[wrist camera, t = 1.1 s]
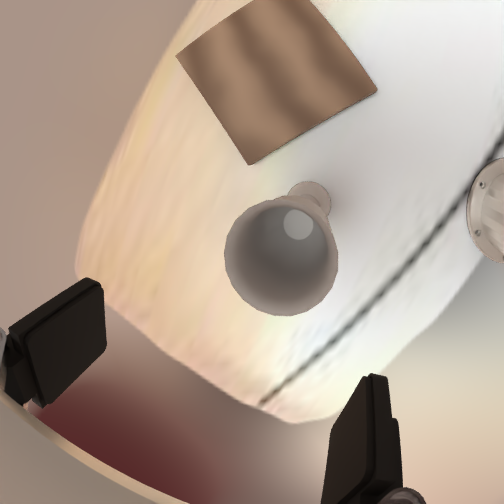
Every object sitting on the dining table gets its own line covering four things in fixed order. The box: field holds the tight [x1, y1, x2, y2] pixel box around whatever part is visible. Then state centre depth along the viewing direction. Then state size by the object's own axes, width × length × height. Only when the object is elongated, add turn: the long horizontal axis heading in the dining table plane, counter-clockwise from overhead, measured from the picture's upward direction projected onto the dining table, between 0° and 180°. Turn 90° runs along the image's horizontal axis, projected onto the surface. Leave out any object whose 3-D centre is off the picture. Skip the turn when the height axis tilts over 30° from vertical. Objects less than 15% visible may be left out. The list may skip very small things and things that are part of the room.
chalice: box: [224, 182, 338, 316], centre depth 27 cm, size 7×7×18 cm
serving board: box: [176, 0, 378, 165], centre depth 30 cm, size 16×16×2 cm
